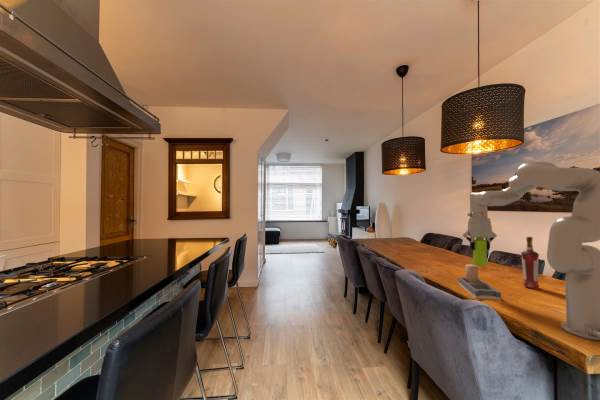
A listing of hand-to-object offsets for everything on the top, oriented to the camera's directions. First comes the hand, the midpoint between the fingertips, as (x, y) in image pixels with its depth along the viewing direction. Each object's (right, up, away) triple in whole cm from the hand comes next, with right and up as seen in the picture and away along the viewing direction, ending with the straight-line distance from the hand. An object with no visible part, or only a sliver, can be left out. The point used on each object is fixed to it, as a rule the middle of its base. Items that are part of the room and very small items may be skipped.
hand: (480, 249), depth 138 cm
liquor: (+34, -23, +8) cm, 42 cm away
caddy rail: (+2, -23, +4) cm, 24 cm away
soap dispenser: (0, -8, 0) cm, 8 cm away
